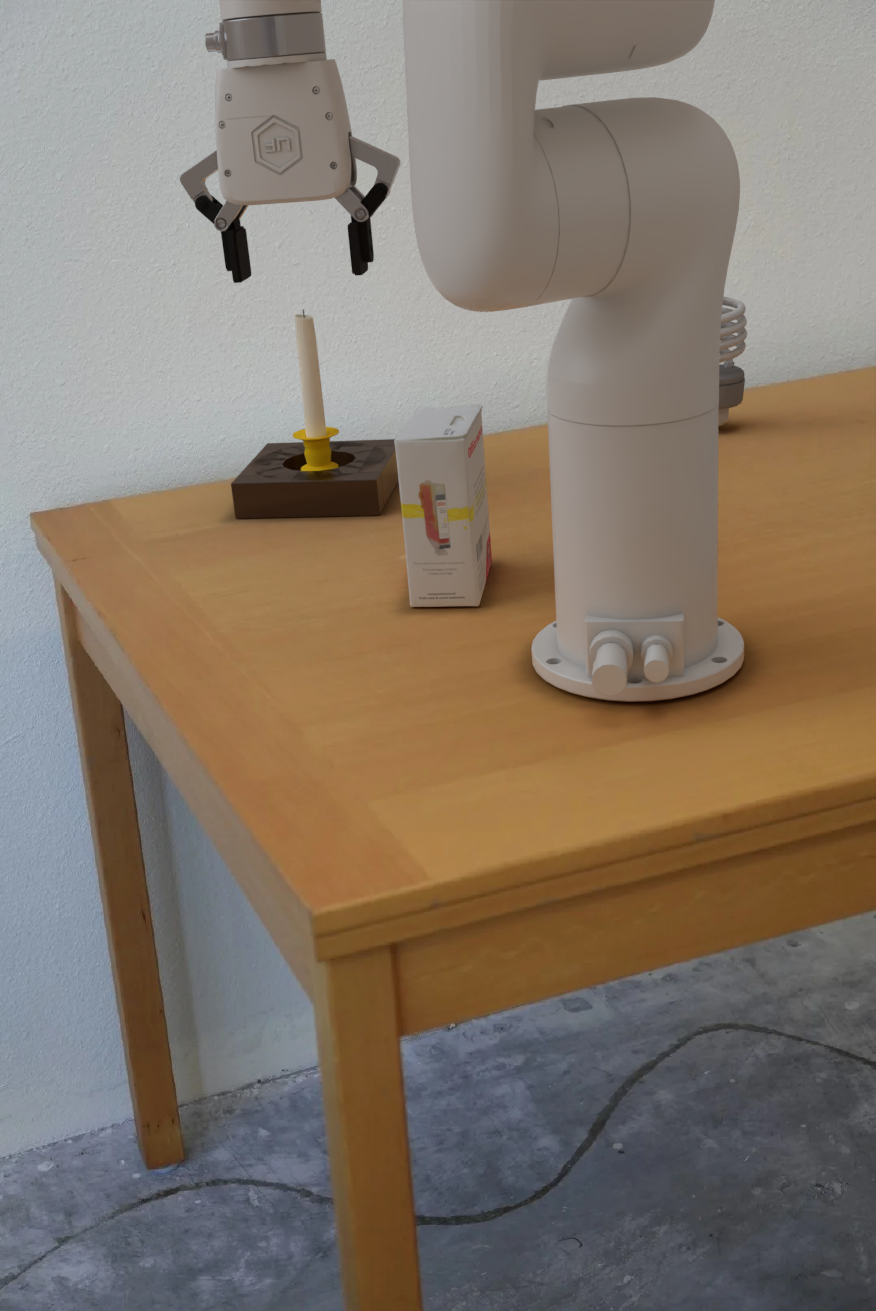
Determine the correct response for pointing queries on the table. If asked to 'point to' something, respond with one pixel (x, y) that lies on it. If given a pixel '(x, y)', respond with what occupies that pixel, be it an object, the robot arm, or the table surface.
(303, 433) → the candle
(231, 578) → the table surface
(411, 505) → the ink box
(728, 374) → the light bulb
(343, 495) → the holder
